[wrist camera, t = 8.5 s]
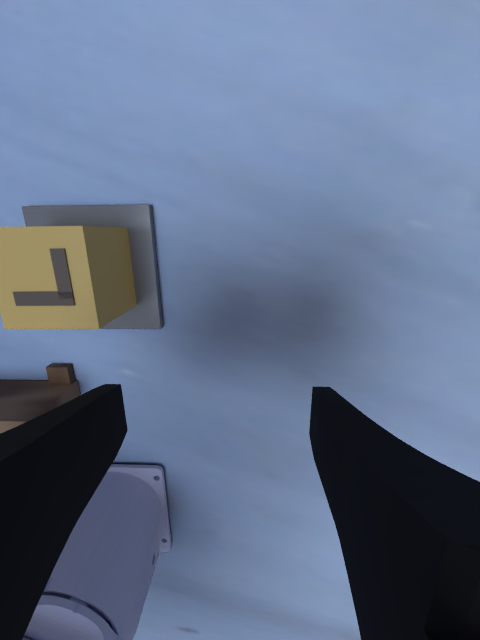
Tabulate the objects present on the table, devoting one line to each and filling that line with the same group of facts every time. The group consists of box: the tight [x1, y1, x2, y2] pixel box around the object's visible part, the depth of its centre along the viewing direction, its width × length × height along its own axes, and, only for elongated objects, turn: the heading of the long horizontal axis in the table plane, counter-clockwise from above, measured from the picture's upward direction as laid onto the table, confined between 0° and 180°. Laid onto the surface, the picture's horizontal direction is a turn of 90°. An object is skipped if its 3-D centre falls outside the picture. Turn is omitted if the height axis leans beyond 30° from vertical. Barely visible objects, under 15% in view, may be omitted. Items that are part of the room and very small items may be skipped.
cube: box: [0, 226, 137, 329], centre depth 16 cm, size 5×5×5 cm
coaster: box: [22, 205, 163, 329], centre depth 19 cm, size 8×8×1 cm
